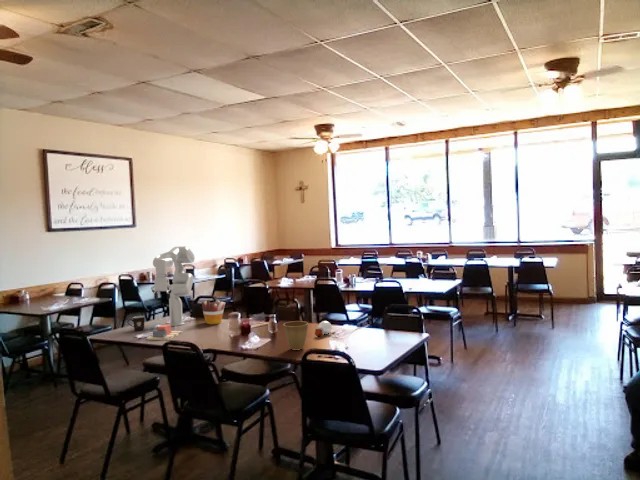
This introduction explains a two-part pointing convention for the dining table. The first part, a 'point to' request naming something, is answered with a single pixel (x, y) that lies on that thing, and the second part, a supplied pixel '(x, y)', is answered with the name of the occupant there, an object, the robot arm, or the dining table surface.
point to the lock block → (165, 328)
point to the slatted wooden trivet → (169, 336)
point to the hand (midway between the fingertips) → (162, 299)
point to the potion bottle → (323, 328)
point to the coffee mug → (138, 323)
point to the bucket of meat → (213, 311)
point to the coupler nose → (159, 333)
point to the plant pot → (296, 333)
